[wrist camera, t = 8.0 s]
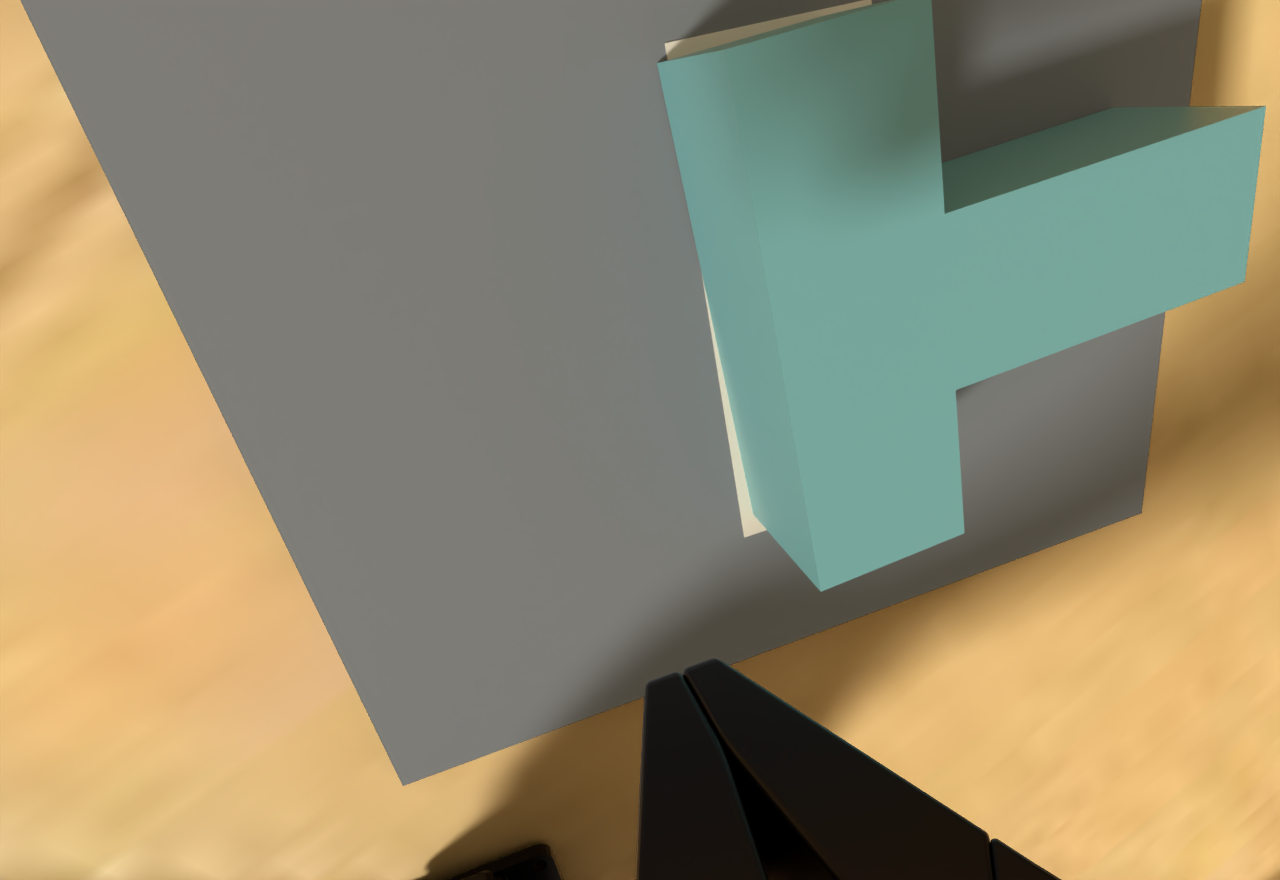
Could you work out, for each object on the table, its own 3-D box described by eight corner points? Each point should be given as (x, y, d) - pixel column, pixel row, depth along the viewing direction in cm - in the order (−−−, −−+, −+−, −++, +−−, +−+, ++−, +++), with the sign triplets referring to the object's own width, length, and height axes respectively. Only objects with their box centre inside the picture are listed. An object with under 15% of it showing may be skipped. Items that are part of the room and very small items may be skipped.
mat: (1129, 506, 27) (1142, 513, 26) (402, 772, 23) (402, 787, 22) (1217, -303, 17) (1240, -314, 17) (-23, -111, 13) (-39, -119, 12)
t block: (1104, 379, 24) (1227, 426, 20) (753, 514, 22) (820, 591, 18) (1119, -69, 18) (1292, -113, 15) (657, 62, 16) (726, 49, 13)
